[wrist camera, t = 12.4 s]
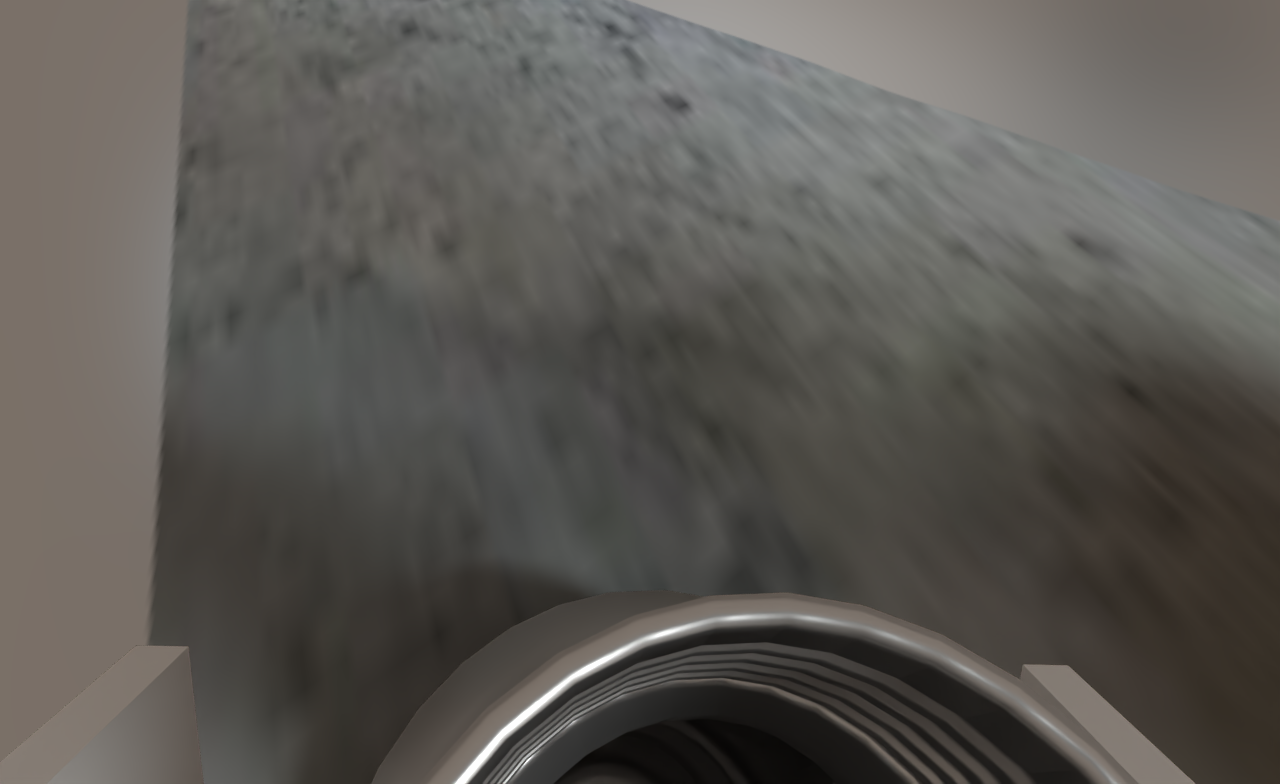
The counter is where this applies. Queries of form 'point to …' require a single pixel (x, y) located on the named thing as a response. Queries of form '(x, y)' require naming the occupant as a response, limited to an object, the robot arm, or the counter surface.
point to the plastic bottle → (736, 702)
